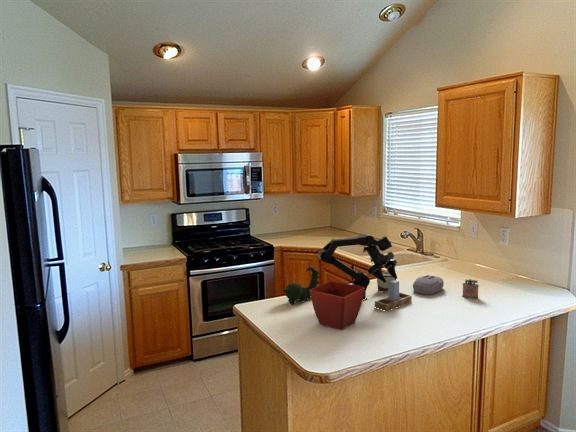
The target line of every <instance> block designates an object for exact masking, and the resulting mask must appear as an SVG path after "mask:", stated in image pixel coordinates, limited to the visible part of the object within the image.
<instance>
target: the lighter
mask: <svg viewBox="0 0 576 432" xmlns="http://www.w3.org/2000/svg"><path fill="white" fill-rule="evenodd" d="M478 281H479V280H476V279H471V278H470V279H465V281H464V282H463V283H462V294H461V295H462V296H461V297H462V298H467V299H474V300H478V299H479V286H480V285H479V284H478Z"/></svg>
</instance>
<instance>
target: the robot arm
mask: <svg viewBox="0 0 576 432" xmlns="http://www.w3.org/2000/svg"><path fill="white" fill-rule="evenodd" d="M349 246H363V249H362V253H363V254H364V253H367V254H368V256H369V257H370V262H371V263H373V264H372V265H371V266H370V267H368V269H367V273H368V274H369V275H371V276H373V277H375V278H376V279H377V278H378V279H380V280H381V281H383V282H384V283H385V282H386V280H385V278H384V276H383V274H382V272H383V271H382V269H384V268H385V270H386V272H389V273H390V274H391V275H392V277H393V278H395V279H396V280H397V279H398V275H397V273H396V266H397V263H398V262H397V260H396V259H394V257H395V254H394V253H393V252H392V251H388V252H387V254H384V253H381V252H385V251H387V250H389V249H391V248H392V246H393V245H392V243H391V241H390V240H389V239H388V237H387V236H383V237H381V238H379V239H378V240H377V239H376V238H374V237H373V235H371V234H368V233H364V234H360V235H358V236H355V237H346V238H345V237H343V238H332V239H331V240H330V241H329V242H327V244H325V245H324V246H323V248H321V249H319V250H318V252H317V257H318V258H319V260H321V261H322V262H323V263H326V264H328V265H331V266H334V267H335V268H337V269H338V270H340V271H342V272H343V273H345V274H346V275H348V276H350V278H352V279H353V281H352V282H351V285H356V286H361V287H365V289H364V295H363V299H365V298H366V300H368V299H367V298H368V297H366V296H367V295H366V294H367V293H366V291H367V288H368V287H369V285H370V284H371V280H370V278H369V275H368V274H367V273H365V272H363V271H361V270H360V269H358V270H357V271H356V270H355V269H352V268H351V267H349V266H348V265H346V264H345V263H343V262H341V260H339V259H338V258H336V257H335V256H334V254H335V252H336V250H337V248H341V247H349ZM396 275H397V276H396Z"/></svg>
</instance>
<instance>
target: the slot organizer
mask: <svg viewBox="0 0 576 432" xmlns="http://www.w3.org/2000/svg"><path fill="white" fill-rule="evenodd" d="M412 301H413V300H412V295H410V294H407V293H403V292H400V291H399V300H397V301H392V300H389V299H388V296H385V297H383V298H380V299H378V300H375V301H374V308H375V307H376V308H375V309H377V308H379V309H378V310H380V309H382V310H381V311H383V310H385V311H384V312H386V311H388V312H390V311H392V310H391V309H393V310H395V309H397V308H396V307H398V308H400V307H402V305H403V306H405V305H407V303H408V304H411V303H412ZM404 304H405V305H404ZM399 306H400V307H399ZM394 308H395V309H394ZM389 310H390V311H389Z"/></svg>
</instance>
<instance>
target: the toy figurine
mask: <svg viewBox="0 0 576 432" xmlns="http://www.w3.org/2000/svg"><path fill="white" fill-rule="evenodd" d="M305 272H311V275H310V280H309V284H308V286H305V287H303V286H302V285H301V284H299V283H297V282H290V283H288V284H287V285H286V287H285V288H283V289H282V292H284V293H285V297H286V298H287V299H288V300H287V301H288V303H289V302H290V303H289V304H291V303H294V304H295V303H296V301H298V300H300V301H302V302H303V301H304V302H305V301H306V300H308V299H311V295H310V289H313V288H315V287H318V284H320V281H319V279H320V276H319V274H320V271H319V270H317V269H316V268H315V267H314V266H309V267H307V268H306V271H305Z"/></svg>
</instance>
